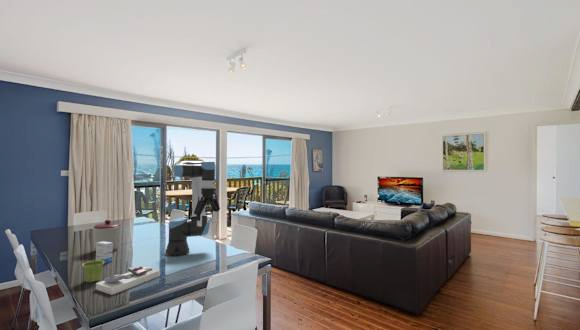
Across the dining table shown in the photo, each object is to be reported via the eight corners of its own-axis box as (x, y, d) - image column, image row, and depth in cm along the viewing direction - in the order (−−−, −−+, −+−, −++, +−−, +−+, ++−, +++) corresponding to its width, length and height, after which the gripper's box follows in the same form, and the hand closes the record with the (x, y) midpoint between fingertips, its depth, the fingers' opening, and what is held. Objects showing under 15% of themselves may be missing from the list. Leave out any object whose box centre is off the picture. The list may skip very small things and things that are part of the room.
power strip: (96, 289, 135) (96, 282, 135) (144, 272, 159) (145, 266, 159) (111, 294, 130) (112, 287, 130) (160, 275, 153) (160, 269, 153)
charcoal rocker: (127, 272, 147) (128, 266, 147) (136, 269, 152) (137, 263, 152) (137, 277, 144) (138, 271, 144) (146, 274, 148) (147, 268, 148)
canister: (85, 251, 194) (85, 220, 194) (110, 245, 211) (111, 216, 211) (103, 255, 187) (103, 223, 187) (128, 248, 204) (128, 218, 204)
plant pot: (89, 276, 150) (89, 260, 151) (107, 276, 151) (108, 260, 151) (77, 284, 141) (77, 266, 141) (97, 283, 142) (97, 266, 142)
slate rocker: (104, 283, 136) (104, 277, 137) (114, 279, 141) (114, 273, 141) (115, 283, 133) (114, 277, 133) (125, 279, 137) (124, 273, 138)
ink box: (112, 261, 176) (113, 242, 176) (105, 263, 171) (105, 244, 171) (102, 259, 178) (103, 240, 178) (95, 262, 174) (95, 242, 174)
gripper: (198, 189, 153) (197, 228, 153) (226, 186, 176) (225, 221, 176) (187, 188, 156) (186, 227, 156) (216, 186, 179) (215, 220, 179)
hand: (207, 224), depth 166 cm, fingers open, 13 cm apart
